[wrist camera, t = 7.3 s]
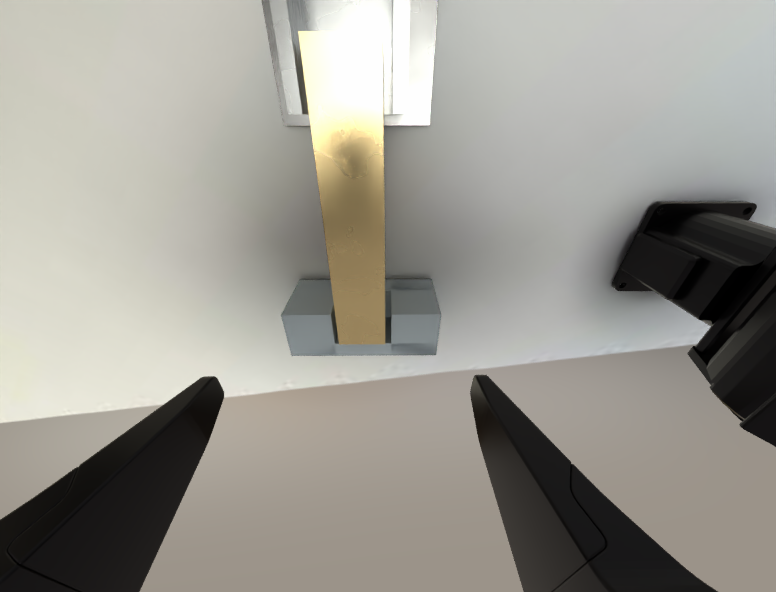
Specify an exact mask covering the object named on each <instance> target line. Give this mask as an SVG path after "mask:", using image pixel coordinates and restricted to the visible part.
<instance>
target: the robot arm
mask: <svg viewBox="0 0 776 592" xmlns="http://www.w3.org/2000/svg"><path fill="white" fill-rule="evenodd" d="M756 208H757V205H756V204H754V203H750V202H657V203H655V204H654V205H652V206H651V207H650V209H649V210H648V212H647V214H646V216H645V218H644V220H643V222H642V224H641V226H640V228H639V230H638V232H637V234H636V236H635V238H634V240H633V242H632V244H631V246H630V248H629V250H628V252H627V254H626V256H625V258H624V260H623V262H622V264H621V266H620V268H619V270H618V272H617V274H616V276H615V278H614V280H613V282H612V287H613V288H615V289H616V290H617V291H655V292H656V293H658V294H659V295H661V296H662V297H664V298H665V299H667V300H670V301H671V302H673V303H674V304H676V305H677V306H679V307H680V308H682V309H683V310H685V311H686V312H688V313H690V314H691V315H693V316H694V317H696V318H697V319H699V320H702V321H703V322H705V323H706V324H708V325H709V326H711V328H710V329H709V330H708V331H707V333H706V334H705V335H704V336H703V338H702V339H701V340H700V341H699V343H698V344H697V345H696V346H693V347H692V348H691V349H690V351H689V352H688V355H689V356H690V358H691V359H692V360H693V362H694V363H695V364H696V366H697V367H698V368H699V370H700V371H701V372H702V374H703V375H704V376H705V378H706V379H707V380H708V382H709V383H710V384H711V386H710V388H711V390H712V392H713V393H714V394H715V395H716V396H717V397H718V398H719V399H720V400H721V402H722V403H723V404H724V405H726V406H727V407H728V408H729V409H730V410H731V411H732V413H733V414H735V415H736V416H737V417H738V418H739V419H740V420H741V421H742V422H741V423H740V426H741V427H742V428H743V429H744V430H746V431H748V432H750V433H752V434H753V435H755V436H757V437H759V438H761V439H763V440H765V441H766V442H769V443H770V444H772V445H774V446H775V447H776V228H772V227H769V226H765V225H762V224H758V223H755V222H751V221H748V220H749V219H750V217H751V216H752V215H753V213H754V212H755V210H756ZM659 209H661V210H660V211H659V212H658V210H659ZM657 212H658V213H657ZM621 283H622V284H621ZM470 392H471V393H470V394H471V401H472V407H473V412H474V418H475V423H476V429H477V434H478V438H479V443H480V447H481V450H482V453H483V456H484V460H485V463H486V467H487V470H488V473H489V477H490V480H491V484H492V487H493V490H494V493H495V497H496V500H497V503H498V507H499V510H500V514H501V517H502V520H503V524H504V527H505V530H506V534H507V537H508V541H509V544H510V547H511V551H512V554H513V557H514V561H515V564H516V567H517V571H518V574H519V577H520V581H521V584H522V587H523V591H524V592H718V591H716V590H715V589H713V588H712V587H710V586H708V585H707V584H706V583H704V582H703V581H701V580H700V579H699V578H697V577H696V576H695V575H693V574H692V573H691V572H689V571H688V570H687V569H686V568H685V567H683V566H682V565H681V564H680V563H679V562H678V561H676V560H675V559H674V558H673V557H672V556H671V555H670V554H669V553H667V552H666V551H665V550H664V549H663V548H662V547H661V546H660V545H659V544H657V543H656V542H655V541H654V540H653V539H652V538H651V537H649V535H647V534H646V533H645V532H644V531H643V530H642V529H641V528H640V527H638V526H637V525H636V524H635V523H634V522H633V521H632V520H631V519H629V517H627V516H626V515H625V514H624V513H623V512H622V511H621V510H620V509H619V508H618V507H616V506H615V505H614V504H613V503H612V502H611V501H610V500H609V499H608V498H607V497H606V496H605V495H604V494H602V493H601V492H600V491H599V490H598V489H597V488H596V487H595V486H594V485H593V484H592V483H591V482H590V481H589V480H588V479H587V478H586V477H585V476H584V475H583V474H582V473H581V472H580V471H579V470H578V469H577V467H576V466H574V465H573V464H571V461H570V460H569V459H568V458H567V457H566V456H565V455H564V454H563V453H562V452H561V451H560V450H559V449H558V448H557V447H556V446H555V445H554V444H553V443H552V442H551V441H550V440H549V439H548V438H547V437H546V436H545V435H544V434H543V433H542V432H541V431H540V430H539V428H538V427H537V426H536V425H535V424H534V423H533V422H532V421H531V420H530V419H529V418H528V417H527V416H526V415H525V414H524V413H523V412H522V411H521V410H520V409H519V408H518V407H517V406H516V405H515V404H514V403H513V402H512V401H511V400H510V399H509V397H508V396H507V395H505V393H503V391H502V390H501V389H500V388H499V387H498V386H497V385H496V384H495V383H494V382H493V381H492V380H491V379H490V378H489V377H488V376H487V375H475V376H474V378H473V382H472V386H471V391H470ZM223 399H224V391H223V389H222V387H221V385H220V383H219V381H218V379H217V378H216V377H214V376H208V377H202V378H200V379H199V380H197V381H196V382H195V383H193V384H192V385H190V386H189V387H188V388H186V389H185V390H183V391H182V392H181V393H179V394H178V395H176V396H175V397H174V398H172V399H171V400H170V401H168V402H167V403H165V404H164V405H163V406H161V407H160V408H158V409H157V410H156V411H154V412H153V413H151V414H150V415H149V416H147V417H146V418H144V419H143V420H142V421H140V422H139V423H138V424H136V425H135V426H133V427H132V428H131V429H129V430H128V431H126V432H125V433H124V434H122V435H121V436H120V437H118V438H117V439H115V440H114V441H112V442H111V443H110V444H108V445H107V446H106V447H104V448H103V449H101V450H100V451H99V452H97V453H96V454H94V455H93V456H92V457H90V458H89V459H87V460H86V461H85V462H83V463H82V464H81V465H80V466H79V467H77V468H75V469H73V470H72V471H71V472H69V473H68V474H66V475H65V476H64V477H63V478H61V479H59V480H58V481H57V482H55V483H54V484H52V485H51V486H50V487H48V488H47V489H45V490H44V491H42V492H41V493H39V494H38V495H37V496H35V497H34V498H32V499H31V500H29V501H28V502H26V503H25V504H23V505H22V506H20V507H19V508H17V509H16V510H14V511H13V512H11V513H10V514H8V515H7V516H5V517H4V518H2V519H1V520H0V592H139V591H140V589H141V587H142V585H143V582H144V580H145V578H146V576H147V574H148V572H149V570H150V568H151V565H152V563H153V561H154V559H155V557H156V555H157V552H158V550H159V548H160V546H161V544H162V542H163V539H164V537H165V535H166V533H167V531H168V529H169V526H170V524H171V522H172V520H173V518H174V516H175V513H176V511H177V509H178V507H179V505H180V503H181V500H182V498H183V496H184V494H185V492H186V490H187V487H188V485H189V483H190V481H191V479H192V477H193V474H194V472H195V470H196V468H197V466H198V464H199V461H200V459H201V457H202V455H203V453H204V451H205V448H206V446H207V444H208V441H209V439H210V436H211V433H212V431H213V428H214V425H215V422H216V419H217V416H218V413H219V410H220V407H221V405H222V402H223Z"/></svg>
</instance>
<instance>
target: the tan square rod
mask: <svg viewBox="0 0 776 592" xmlns="http://www.w3.org/2000/svg"><path fill="white" fill-rule="evenodd" d="M298 33H299V41H300V48H301V56H302V64H303V71H304V79H305V87H306V94H307V102H308V110H309V117H310V125H311V133H312V140H313V148H314V156H315V163H316V171H317V179H318V186H319V194H320V202H321V209H322V217H323V225H324V232H325V240H326V248H327V256H328V263H329V271H330V279H331V286H332V294H333V302H334V309H335V317H336V325H337V332H338V340H339V345H352V344H385V322H386V312H385V199H384V87H383V37H382V31H298Z"/></svg>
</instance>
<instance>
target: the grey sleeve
mask: <svg viewBox="0 0 776 592" xmlns="http://www.w3.org/2000/svg"><path fill="white" fill-rule="evenodd" d="M262 5H263V10H264V16H265V22H266V27H267V33H268V39H269V45H270V50H271V56H272V62H273V67H274V73H275V79H276V85H277V90H278V96H279V102H280V107H281V113H282V119H283V125H284V126H311V125H310V117H309V110H308V102H307V94H306V87H305V79H304V71H303V64H302V56H301V48H300V41H299V33H298V31H382V37H383V87H384V125H430V113H431V98H432V83H433V68H434V53H435V39H436V24H437V9H438V0H262Z"/></svg>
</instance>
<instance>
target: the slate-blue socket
mask: <svg viewBox="0 0 776 592" xmlns="http://www.w3.org/2000/svg"><path fill="white" fill-rule="evenodd" d="M385 312H386V322H385V344H352V345H339V340H338V332H337V325H336V317H335V309H334V302H333V294H332V286H331V280H299V282H298V284H297V286H296V288H295V290H294V292H293V294H292V295H291V297H290V299H289V301H288V303H287V305H286V307H285V309H284V310H283V312H282V314H281V317H282V321H283V324H284V328H285V332H286V336H287V340H288V344H289V347H290V351H291V355H292V356H343V355H436V352H437V344H438V336H439V328H440V320H441V312H440V308H439V305H438V301H437V298H436V294H435V290H434V287H433V283H432V279H385Z"/></svg>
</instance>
